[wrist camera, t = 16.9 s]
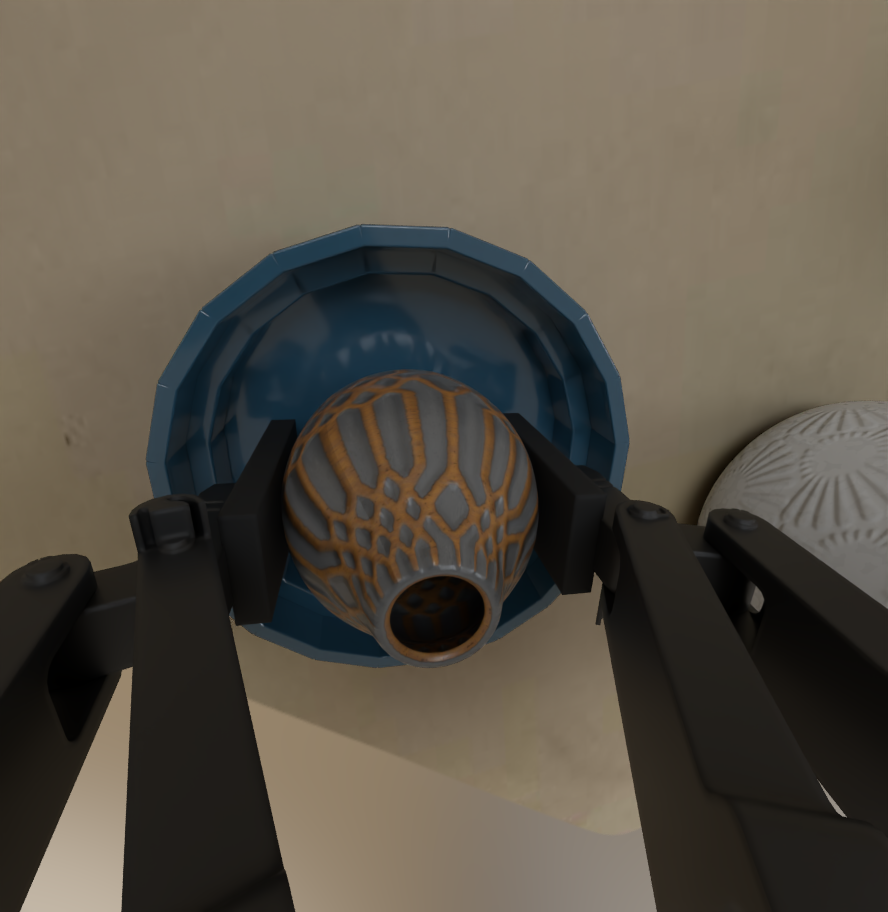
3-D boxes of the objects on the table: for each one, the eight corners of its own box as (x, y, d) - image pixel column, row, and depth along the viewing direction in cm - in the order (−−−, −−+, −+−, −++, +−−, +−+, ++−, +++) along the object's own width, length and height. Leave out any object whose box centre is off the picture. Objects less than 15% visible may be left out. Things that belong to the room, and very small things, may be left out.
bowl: (157, 227, 14) (87, 213, 10) (598, 241, 16) (667, 235, 13) (227, 608, 19) (197, 689, 16) (554, 579, 22) (594, 644, 18)
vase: (394, 567, 18) (421, 798, 10) (254, 447, 16) (146, 635, 8) (531, 452, 18) (676, 608, 10) (407, 305, 15) (465, 353, 7)
